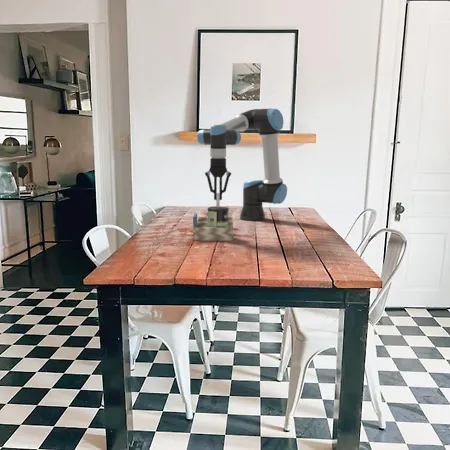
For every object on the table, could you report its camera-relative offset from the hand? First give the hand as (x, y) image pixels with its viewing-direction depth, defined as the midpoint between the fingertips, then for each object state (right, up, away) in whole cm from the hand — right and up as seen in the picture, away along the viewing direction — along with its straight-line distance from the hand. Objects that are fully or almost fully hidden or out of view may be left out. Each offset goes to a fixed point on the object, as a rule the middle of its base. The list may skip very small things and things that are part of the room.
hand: (217, 206), depth 228 cm
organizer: (-2, -13, +10) cm, 17 cm away
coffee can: (0, -15, +3) cm, 15 cm away
